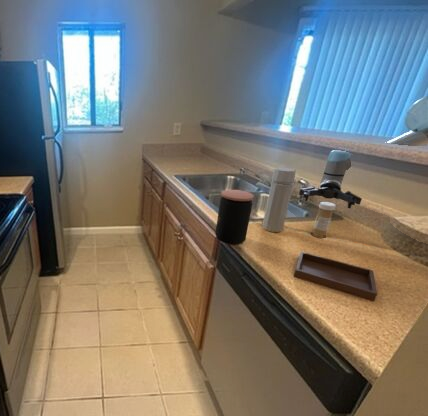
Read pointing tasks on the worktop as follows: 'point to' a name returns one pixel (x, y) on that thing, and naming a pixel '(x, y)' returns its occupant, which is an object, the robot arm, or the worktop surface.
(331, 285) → the tray
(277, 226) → the grey thermos flask
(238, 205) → the coffee jar
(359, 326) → the worktop surface
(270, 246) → the worktop surface
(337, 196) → the robot arm
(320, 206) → the sprinkles bottle
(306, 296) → the worktop surface
